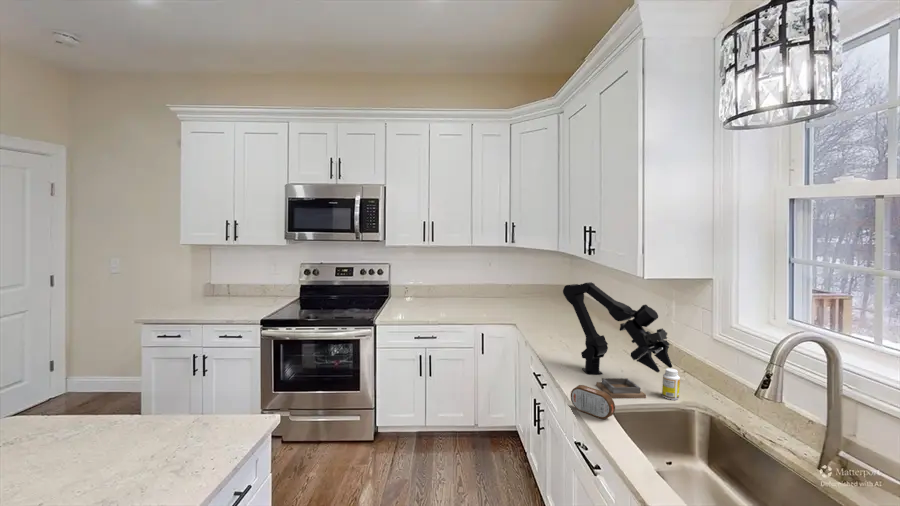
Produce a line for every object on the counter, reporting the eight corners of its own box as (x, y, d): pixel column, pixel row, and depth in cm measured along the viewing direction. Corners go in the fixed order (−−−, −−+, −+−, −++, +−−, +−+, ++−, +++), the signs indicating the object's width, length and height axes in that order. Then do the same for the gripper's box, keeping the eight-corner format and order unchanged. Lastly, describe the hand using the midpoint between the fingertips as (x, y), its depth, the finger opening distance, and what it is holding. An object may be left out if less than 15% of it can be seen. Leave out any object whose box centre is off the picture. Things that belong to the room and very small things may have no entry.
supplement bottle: (672, 394, 164) (674, 367, 164) (682, 400, 159) (683, 372, 158) (658, 394, 164) (660, 367, 163) (667, 400, 158) (669, 372, 158)
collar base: (596, 385, 172) (596, 377, 172) (628, 385, 173) (629, 377, 173) (610, 398, 159) (611, 389, 159) (645, 398, 160) (646, 389, 160)
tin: (615, 420, 141) (616, 394, 140) (610, 423, 139) (611, 397, 138) (573, 405, 152) (574, 381, 151) (568, 407, 150) (569, 383, 149)
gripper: (639, 324, 160) (668, 362, 152) (665, 319, 171) (693, 354, 163) (619, 341, 167) (645, 378, 159) (645, 335, 178) (671, 369, 170)
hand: (665, 369), depth 163 cm, fingers open, 9 cm apart
